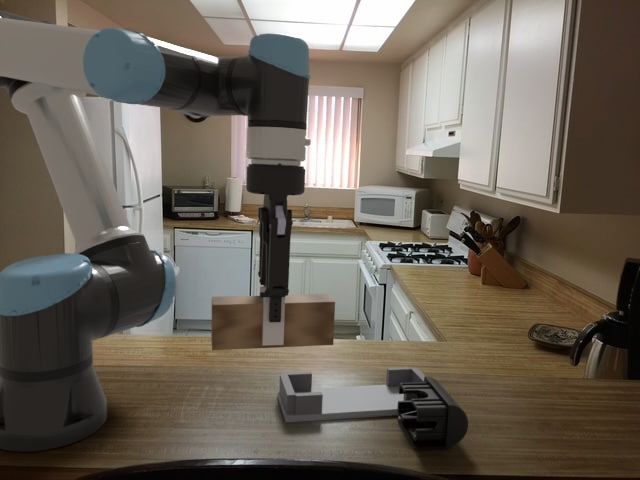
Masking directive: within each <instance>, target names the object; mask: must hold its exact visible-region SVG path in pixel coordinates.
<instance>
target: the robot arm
mask: <svg viewBox="0 0 640 480" xmlns="http://www.w3.org/2000/svg"><path fill="white" fill-rule="evenodd" d="M310 80H311V74H310V49H309V45H308V44H307V42H306V41H305V40H304V39H302V38H301V37H299V36H296V35H292V34H286V33H285V34H284V33H278V32H277V33H276V32H271V33H260V34H258V35H255V36H253V37H252V38H251V40H250V42H249V49H248V54H245V55H240V56H213V55H210V54H206V53H203V52H200V51H196V50H193V49H190V48H187V47H184V46H183V47H182V46H180V45H176V44H171V43H170V42H169V43H168V42H166V41H162V40H159V39H156V38H153V37H150V36H147V35H145V34H144V33H141V32H138V31H134V30H130V29H125V28H123V29H122V28H117V27H104V28H102V29H100V30H99V29H91V28H84V27H78V26H77V27H76V26H70V25H61V24H56V23H54V22H51V21H47V20H45V21H44V20H36V19H33V18H30V17H26V16H23V15H19V14H15V13H12V12H9V11H5V10H1V9H0V88H2V89H3V88H4V89H5V90H6V91H7V94H8V96H9V99H10V102H11V104H12V107H13V108H14V109H15V110H17V111H18V112H20V113H23V114H25V115H27V118H28V120H29V123H30V126H31V128H32V129H31V130H32V132H33V133H34V135H35V139H36V141H37V143H38V147H39V149H40V153H41V155H42V157H43V160H44V162H45V166H46V168H47V171H48V173H49V175H50V178H51V181H52V184H53V187H54V189H55V192H56V194H57V197H58V199H59V203H60V205H61V208H62V210H63V213H64V216H65V218H66V221H67V223H68V226H69V229H70V231H71V232H70V233H71V235H72V237H73V239H74V241H75V244H76V248H75V251H74V252H73V253H67V252H66V253H55V254H52V255H48V254H46V255H45V254H44V255H39V256H38V255H37V256H34V257H30V258H25V259H22V260H19V261H16V262H14V263H12V264H10V265H8V266H6V267H5V268H3V269H2V270H1V271H0V449H1V450H5V451H9V452H10V451H11V452H25V453H26V452H39V451H40V452H41V451H46V450H52V449H57V448H61V447H65V446H68V445H71V444H73V443H77V442H79V441H82V440H83V439H84V440H85V439H86V438H87V437H90V436H92V435H93V434H95V433H96V432H98V431H99V430H100V429H101V428H102V427H103V425H104V424H105V422H106V421H107V419H108V404H107V403H108V402H107V398H106V395H105V393H104V390H103V388H102V385H101V383H100V379H99V377H98V375H97V373H96V370H95V368H94V354H93V352H94V349H93V347H94V345H93V342H94V341H96V340H99V339H102V338H105V337H109V336H111V335H114V334H117V333H120V332H123V331H127V330H129V329H133V328H140V327H144V326H145V325H148V324H150V323H151V322H154V321H157V320H158V319H159V318H162V317H163V316H165V315H166V313H168V311H169V310H170V308H171V307H172V305H173V302H174V297H175V296H176V292H177V277H176V276H177V275H176V272H175V269H174V266H173V264H172V262H171V261H170V258H168V257H167V255H165V254H164V255H163V254H162V252H160V251H157V250H154V249H150V246H149V244H148V242H147V240H146V236H145V234H143V233H141V232H139V231H137V230H134V229H133V228H132V227H131V225H130V223H129V220H128V217H127V215H126V211H125V210H124V207H123V203H122V202H121V199H120V197H119V193H118V192H117V189H116V187H115V184H114V182H113V179H112V175H111V173H110V171H109V168H108V166H107V163H106V162H105V161H106V160H105V159H104V156H103V152H102V151H101V148H100V146H99V142H98V140H97V138H96V135H95V132H94V130H93V128H92V125H91V123H90V119H89V117H88V115H87V112H86V111H85V110H86V108H85V107H84V104H83V101H84V100H85V98H86V96H87V94H89V95H94V96H100V97H101V98H104V99H107V100H112V101H114V102H116V103H120V104H126V105H127V104H129V105H138V106H139V105H141V106H146V107H155V108H162V109H163V108H164V109H169V110H174V111H178V112H180V113H182V114H184V115H187V116H194V117H202V118H210V117H225V116H228V117H229V116H243V117H245V116H246V117H247V123H248V124H247V131H246V158H247V159H249V160H250V163H249V164H247V166H246V185H245V186H246V187H245V188H246V191H247V192H248V193H250V194H253V195H254V194H255V195H263V204H262V205H263V206H258V210H257V211H258V213H257V218H258V220H259V224H258V225H259V228H258V235H259V252H258V253H259V254H258V255H259V257H258V258H259V260H258V263H259V264H258V272H257V275H258V277H259V281H258V282H259V285H260V286H259V296H260V297H264V299H263V332H262V345H263V346H264V345H283V344H284V316H285V296H288V295H289V292H290V289H289V283H290V282H289V280H290V279H289V277H290V257H291V256H290V255H291V236H292V226H293V224H294V223H293V211H292V209H289V207H288V196H301V195H303V194H304V193H305V187H306V185H305V184H306V183H305V182H306V168H305V167H304V166H303V165H302V166H301V162H305V161H306V151H307V149H306V146H307V147H308V146H310V145H311V142H312V141H311V139H310V138H308V137H307V128H308V127H307V126H308V125H307V124H308V123H307V122H308V119H307V118H308V101H309V86H310V85H309V84H310Z"/></svg>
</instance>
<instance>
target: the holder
mask: <svg viewBox="0 0 640 480" xmlns="http://www.w3.org/2000/svg"><path fill="white" fill-rule="evenodd" d="M425 376H426V375H425V374H424V373H423V372H422V371H421V370H420V369H419V367H410V366H402V367H399V366H396V367H386V384H374V385H358V386H357V385H355V386H351V385H350V386H335V387H318V388H316V387H315V388H313V387H312V385H313V383H312V382H313V381H312V380H313V373H312V371H310V370H309V371H291V372H290V371H288V372H286V373H280V374H279V389H278V390H277V399H278V402H279V406H280V408H281V411H282V412H281V413H282V416H283V419H284V421H285V423H299V422H300V423H301V422H313V421H315V422H316V421H329V420H332V421H333V420H345V419H359V418H373V417H375V418H376V417H377V418H378V417H390V416H391V417H392V415H393V416H399V414H398V401H411V399H416V398H417V395H416V394H399V383H424V377H425Z"/></svg>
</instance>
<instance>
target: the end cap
mask: <svg viewBox="0 0 640 480" xmlns="http://www.w3.org/2000/svg"><path fill="white" fill-rule="evenodd" d="M399 394H416V395H417V398H416V399H411V401H398V414H399V415H398V417H397V421H398V424H399V426H400V427H401V429H402V430H403V432H404V434H405V436H406V438H407V439H408V441H409V443H410V445H411V446H412V448H413V450H415V451H417V452H431V451H433V452H435V451H446V450H449V449H450V448H452V447H453V446H456V445H457V444H459V443H460V442H461V441H463V440H464V438H465V437H466V435H467V432H468V429H469V419H468V416H467V414H466V412H465V410H463V408H462V407H461V406H460V405H459V404H458V403H457V402H456V400H455V399H454V398H453V396H451V395H450V393H449V392H448V391H447V390H446V389H445V388H444V387H443V386H442V384H441V383H440V382H439V381H438V380H437V379H435V378H433V377H431V376H427V375H425V377H424V383H399Z"/></svg>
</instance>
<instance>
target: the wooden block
mask: <svg viewBox="0 0 640 480" xmlns="http://www.w3.org/2000/svg"><path fill="white" fill-rule="evenodd" d="M263 299H264V297H260V295H237V296H236V295H234V296H231V295H230V296H211V332H210V333H211V334H210V335H211V337H210V338H211V339H210V340H211V350H212V351H229V350H230V351H231V350H250V349H251V350H252V349H253V350H255V349H270V348H271V349H272V348H273V349H274V348H298V347H319V346H334V336H335V335H334V334H335V313H336V301H335V300H334V299H333V298H332V297H331V296H330V295H329V294H328V293H326V294H325V293H323V294H322V293H321V294H318V293H317V294H288V296H285V316H284V344H283V345H264V346H263V345H262V332H263Z"/></svg>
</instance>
